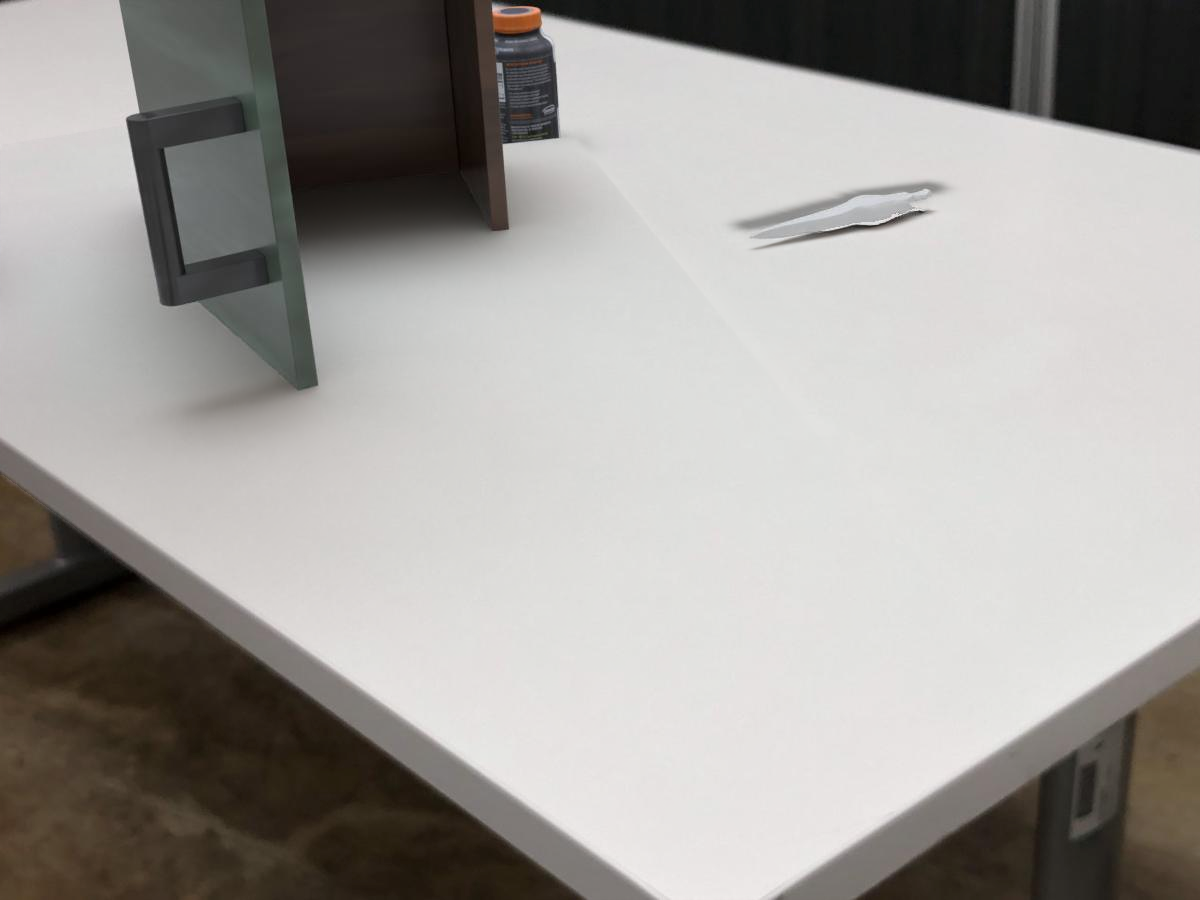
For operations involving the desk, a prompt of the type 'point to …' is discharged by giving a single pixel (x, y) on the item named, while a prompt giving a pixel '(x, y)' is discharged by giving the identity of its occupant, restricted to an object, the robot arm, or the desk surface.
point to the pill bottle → (525, 76)
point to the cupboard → (390, 93)
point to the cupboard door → (218, 173)
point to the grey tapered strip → (846, 214)
